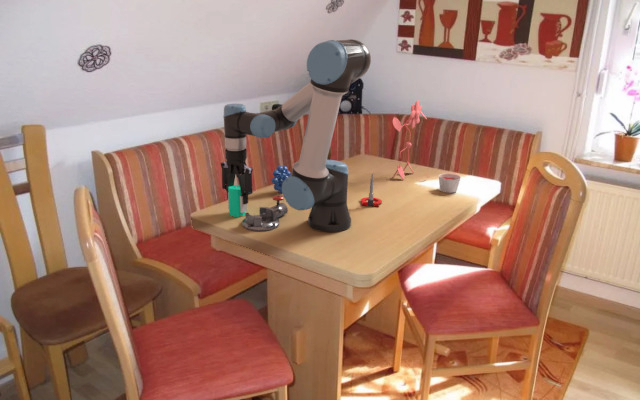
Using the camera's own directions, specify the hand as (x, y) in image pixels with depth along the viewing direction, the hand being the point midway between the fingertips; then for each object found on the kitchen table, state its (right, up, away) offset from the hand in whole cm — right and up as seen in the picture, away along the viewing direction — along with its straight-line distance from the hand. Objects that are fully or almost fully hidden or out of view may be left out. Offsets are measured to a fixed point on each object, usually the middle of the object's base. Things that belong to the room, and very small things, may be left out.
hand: (237, 209), depth 200 cm
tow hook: (+50, +2, +16) cm, 53 cm away
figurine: (+72, +14, +49) cm, 88 cm away
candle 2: (+85, +7, +32) cm, 91 cm away
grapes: (+15, +6, +24) cm, 29 cm away
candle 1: (0, -2, +1) cm, 2 cm away
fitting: (+11, -4, -6) cm, 13 cm away
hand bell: (+34, +12, +42) cm, 55 cm away
